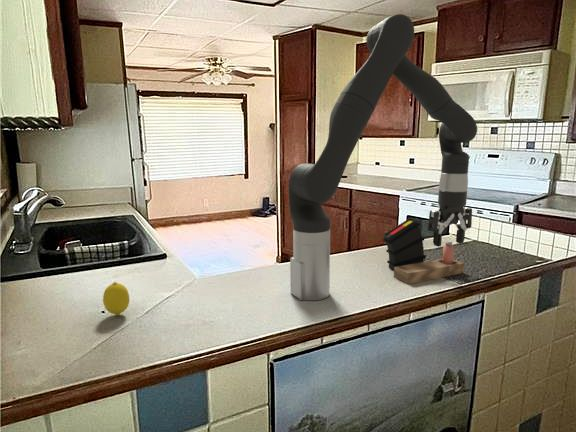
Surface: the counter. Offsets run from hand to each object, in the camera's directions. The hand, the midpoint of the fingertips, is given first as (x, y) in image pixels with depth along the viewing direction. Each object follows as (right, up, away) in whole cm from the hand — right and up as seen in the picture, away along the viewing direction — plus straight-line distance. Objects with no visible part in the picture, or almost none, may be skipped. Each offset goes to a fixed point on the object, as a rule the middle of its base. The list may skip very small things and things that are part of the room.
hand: (448, 244), depth 123 cm
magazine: (-11, -8, +6) cm, 15 cm away
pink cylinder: (0, -8, +2) cm, 8 cm away
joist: (-5, -9, 0) cm, 10 cm away
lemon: (-86, -15, -25) cm, 91 cm away
